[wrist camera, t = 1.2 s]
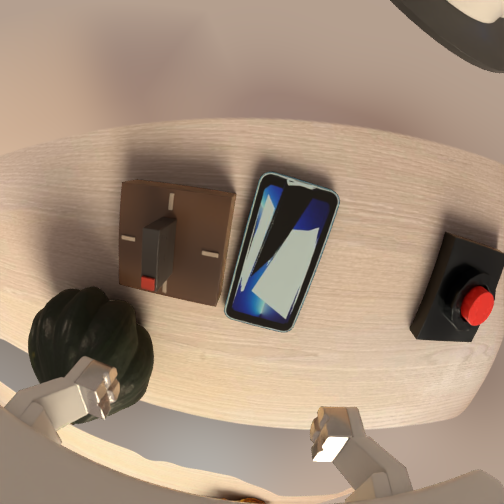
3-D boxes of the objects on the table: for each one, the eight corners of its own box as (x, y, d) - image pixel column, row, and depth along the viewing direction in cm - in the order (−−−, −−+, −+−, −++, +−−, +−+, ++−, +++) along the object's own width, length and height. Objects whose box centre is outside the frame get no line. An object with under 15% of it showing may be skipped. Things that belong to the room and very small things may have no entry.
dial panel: (136, 179, 25) (121, 182, 22) (236, 193, 25) (231, 197, 22) (131, 272, 28) (118, 285, 25) (221, 292, 28) (215, 307, 25)
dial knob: (162, 216, 23) (141, 228, 19) (177, 219, 23) (158, 231, 19) (158, 270, 25) (139, 290, 21) (172, 273, 25) (155, 294, 21)
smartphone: (221, 316, 28) (261, 168, 23) (223, 311, 29) (262, 168, 24) (290, 334, 28) (343, 194, 23) (290, 329, 29) (340, 192, 24)
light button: (469, 283, 22) (478, 290, 21) (490, 287, 22) (498, 294, 21) (455, 317, 24) (462, 325, 22) (476, 319, 24) (484, 326, 22)
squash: (30, 254, 23) (-8, 387, 15) (151, 284, 23) (116, 452, 16) (81, 301, 35) (57, 397, 28) (175, 325, 35) (155, 433, 28)
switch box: (445, 231, 25) (465, 242, 21) (497, 249, 24) (516, 259, 21) (409, 329, 28) (422, 348, 25) (463, 333, 28) (477, 349, 24)
